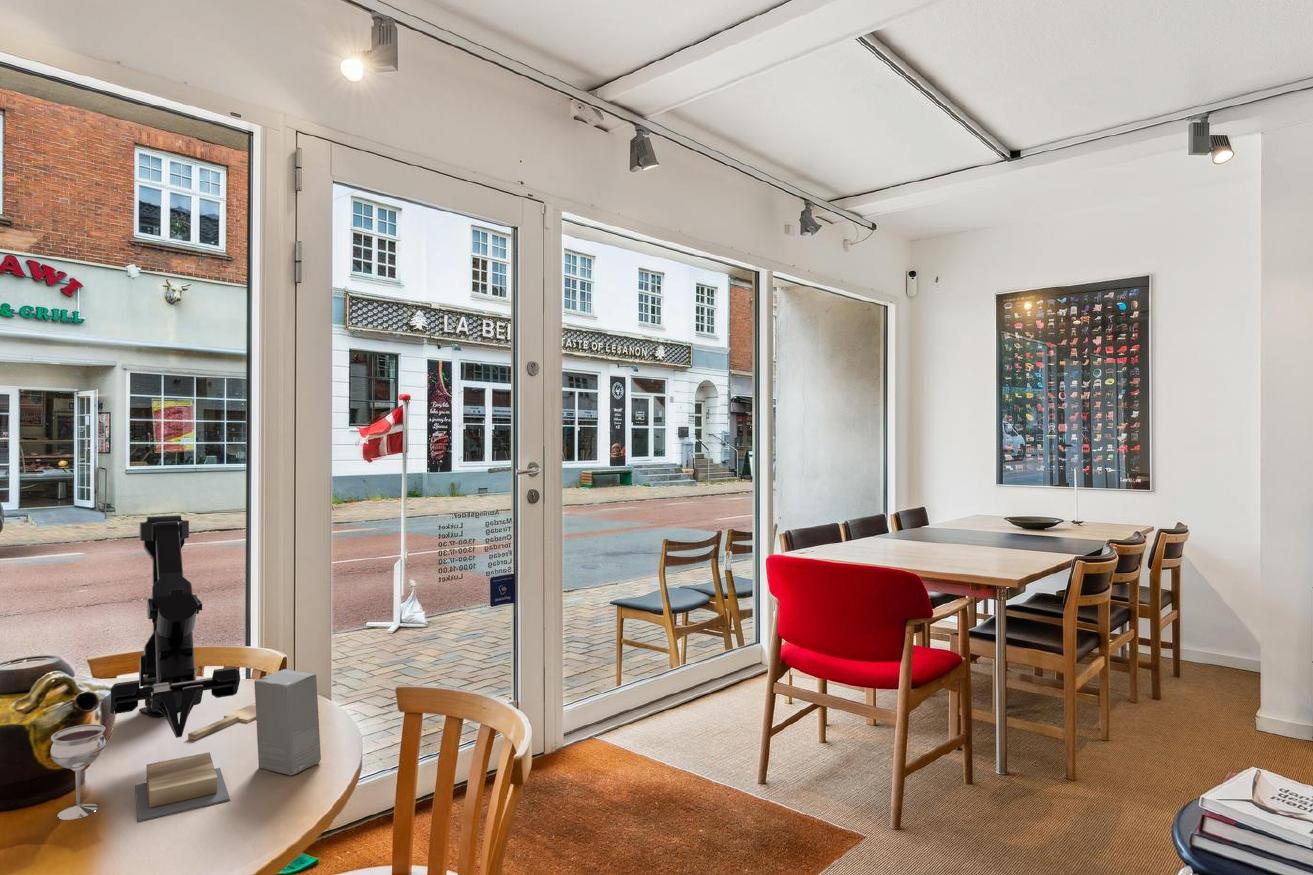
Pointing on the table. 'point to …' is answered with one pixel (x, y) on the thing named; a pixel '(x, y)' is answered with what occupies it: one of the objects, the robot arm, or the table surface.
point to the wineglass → (78, 759)
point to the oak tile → (180, 779)
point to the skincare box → (287, 721)
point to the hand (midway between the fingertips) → (179, 736)
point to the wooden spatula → (226, 721)
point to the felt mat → (179, 806)
